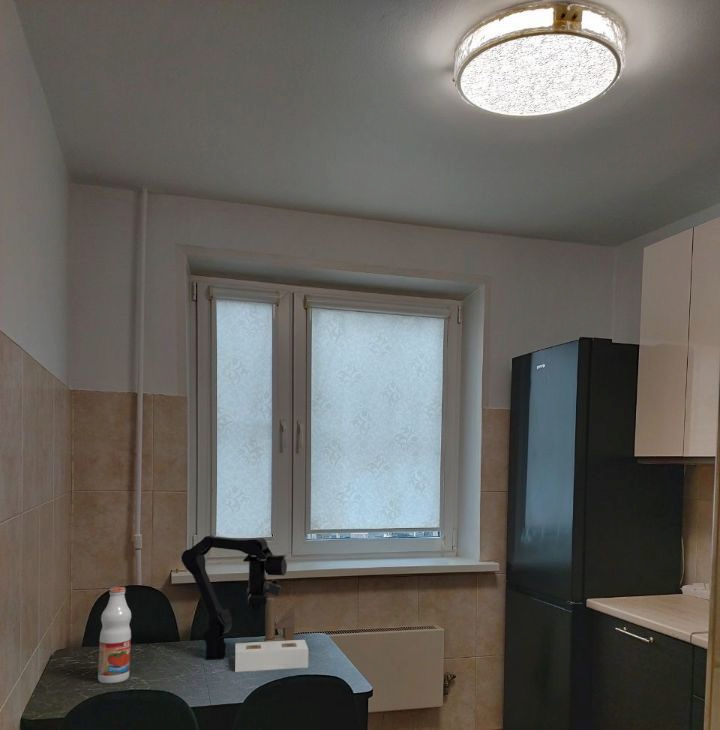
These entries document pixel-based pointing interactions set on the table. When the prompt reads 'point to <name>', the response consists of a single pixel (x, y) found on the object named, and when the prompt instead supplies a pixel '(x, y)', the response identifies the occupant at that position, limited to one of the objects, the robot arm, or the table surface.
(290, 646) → the right peg
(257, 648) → the left peg
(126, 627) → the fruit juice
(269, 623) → the wooden block
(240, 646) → the white peg base
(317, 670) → the table surface
